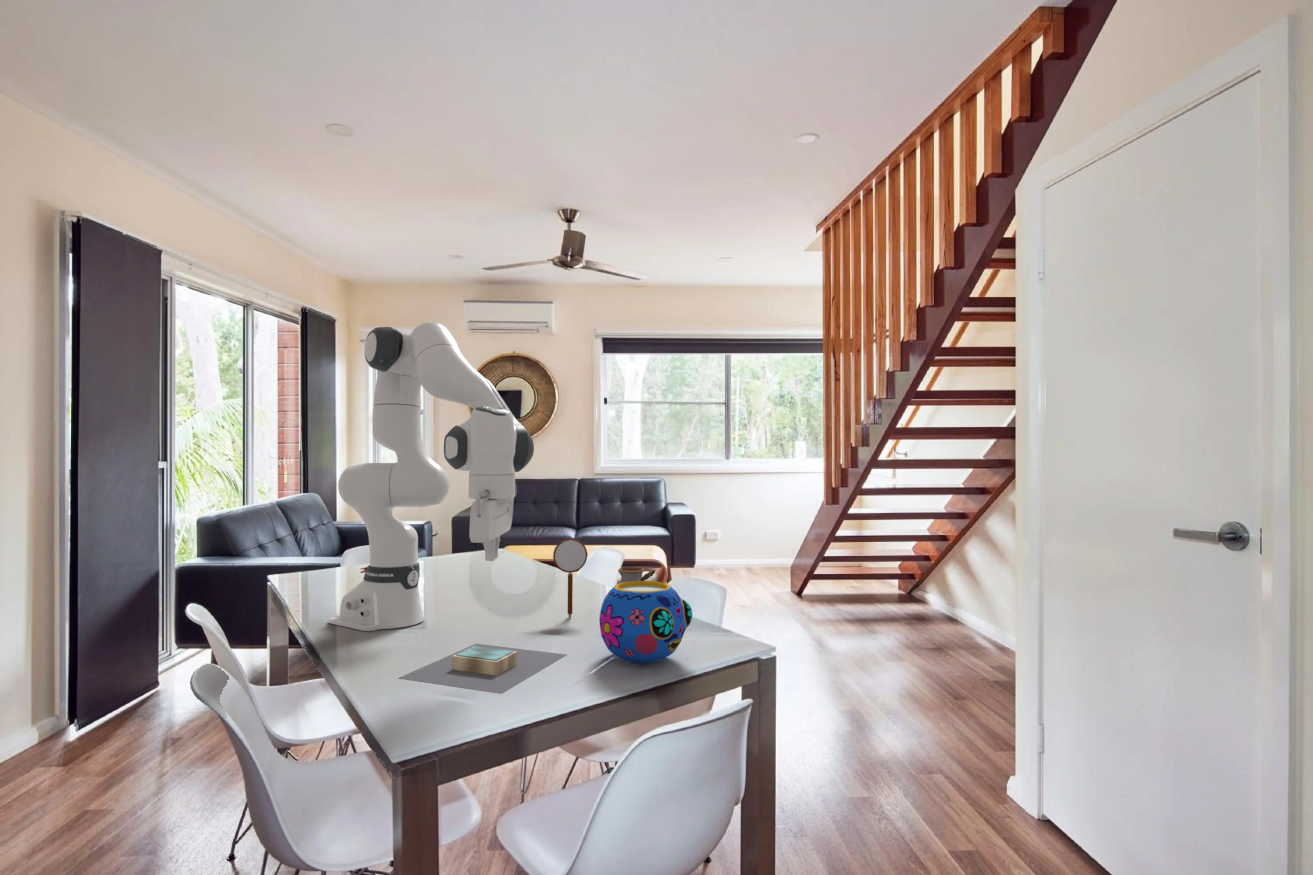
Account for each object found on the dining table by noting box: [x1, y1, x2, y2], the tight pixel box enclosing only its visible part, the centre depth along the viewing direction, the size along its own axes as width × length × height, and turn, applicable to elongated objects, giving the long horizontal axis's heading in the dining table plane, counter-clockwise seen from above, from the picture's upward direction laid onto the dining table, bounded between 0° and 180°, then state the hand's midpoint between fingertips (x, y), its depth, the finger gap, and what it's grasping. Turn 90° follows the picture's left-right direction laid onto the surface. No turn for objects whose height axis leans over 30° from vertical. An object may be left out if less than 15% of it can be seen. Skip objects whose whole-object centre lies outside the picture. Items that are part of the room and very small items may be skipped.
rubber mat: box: [398, 643, 567, 694], centre depth 133 cm, size 22×24×1 cm
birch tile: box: [452, 646, 517, 675], centre depth 132 cm, size 10×3×7 cm
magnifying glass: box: [552, 537, 588, 618], centre depth 174 cm, size 9×2×20 cm, turn 102°
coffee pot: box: [617, 566, 660, 584], centre depth 166 cm, size 21×12×15 cm, turn 22°
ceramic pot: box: [598, 580, 693, 665], centre depth 139 cm, size 18×18×15 cm
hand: (491, 559), depth 134 cm, fingers closed
